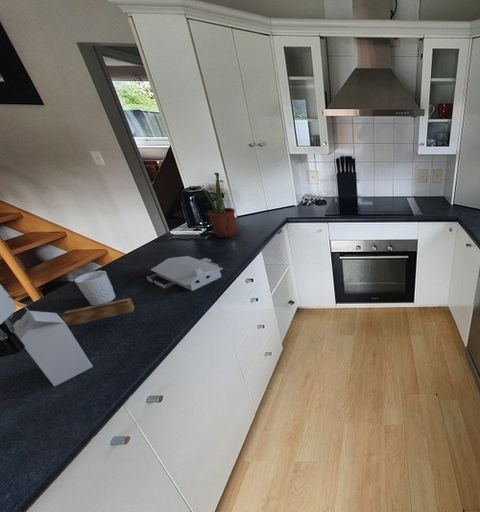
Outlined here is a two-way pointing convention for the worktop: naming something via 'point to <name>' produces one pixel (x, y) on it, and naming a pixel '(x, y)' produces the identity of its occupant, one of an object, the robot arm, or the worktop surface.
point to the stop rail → (98, 312)
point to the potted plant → (220, 213)
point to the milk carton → (51, 345)
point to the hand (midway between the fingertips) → (12, 352)
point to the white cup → (96, 287)
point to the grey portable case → (186, 272)
